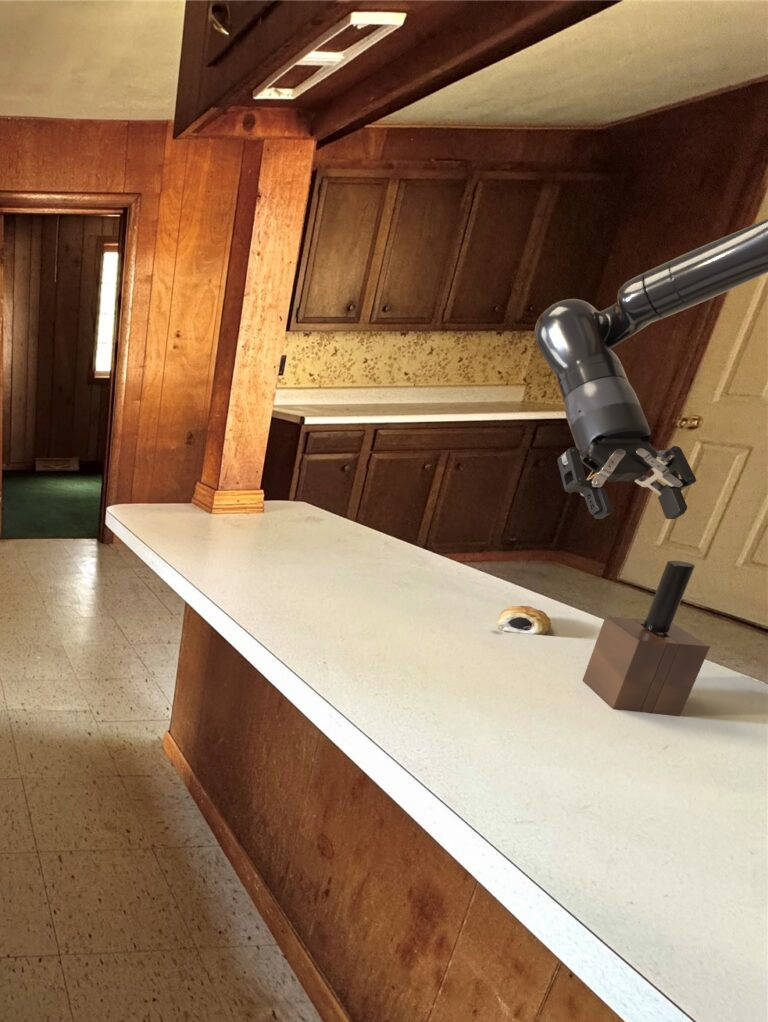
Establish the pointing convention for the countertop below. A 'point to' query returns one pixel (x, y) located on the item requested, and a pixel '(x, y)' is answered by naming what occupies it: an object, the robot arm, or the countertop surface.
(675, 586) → the knife
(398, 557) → the countertop surface
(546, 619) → the pastry
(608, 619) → the knife block
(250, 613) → the countertop surface
